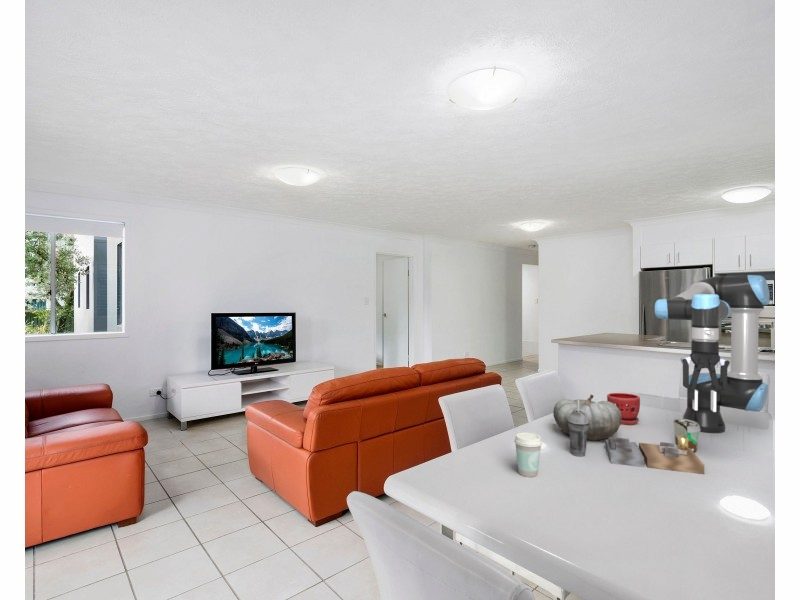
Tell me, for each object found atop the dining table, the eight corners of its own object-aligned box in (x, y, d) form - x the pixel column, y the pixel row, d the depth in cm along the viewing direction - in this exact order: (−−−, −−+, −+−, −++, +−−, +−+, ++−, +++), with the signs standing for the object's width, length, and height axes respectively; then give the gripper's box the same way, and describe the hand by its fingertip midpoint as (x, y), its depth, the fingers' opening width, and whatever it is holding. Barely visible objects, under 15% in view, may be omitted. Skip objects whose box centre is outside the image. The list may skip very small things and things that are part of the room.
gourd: (615, 445, 158) (608, 396, 160) (547, 442, 172) (542, 397, 175) (629, 434, 177) (623, 391, 180) (567, 433, 192) (562, 393, 195)
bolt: (686, 452, 149) (686, 436, 149) (689, 455, 146) (689, 439, 146) (658, 449, 152) (658, 433, 151) (660, 452, 149) (660, 436, 149)
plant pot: (640, 420, 197) (641, 394, 197) (638, 428, 186) (638, 400, 186) (609, 416, 204) (609, 390, 204) (605, 423, 193) (605, 396, 193)
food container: (707, 456, 154) (707, 428, 154) (687, 454, 156) (688, 426, 155) (691, 444, 166) (691, 418, 166) (673, 443, 168) (673, 417, 167)
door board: (689, 456, 154) (689, 441, 154) (704, 474, 139) (704, 457, 139) (605, 447, 163) (605, 432, 163) (610, 463, 148) (610, 447, 148)
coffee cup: (527, 481, 134) (527, 442, 134) (508, 471, 142) (508, 434, 141) (547, 475, 138) (548, 438, 138) (528, 466, 146) (528, 430, 145)
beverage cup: (589, 452, 158) (589, 397, 157) (588, 459, 151) (589, 402, 151) (568, 449, 161) (568, 395, 161) (566, 456, 154) (566, 399, 154)
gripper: (677, 340, 145) (676, 410, 145) (741, 342, 139) (740, 415, 139) (671, 338, 152) (670, 405, 152) (732, 340, 146) (731, 409, 146)
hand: (704, 409), depth 146 cm, fingers open, 4 cm apart
